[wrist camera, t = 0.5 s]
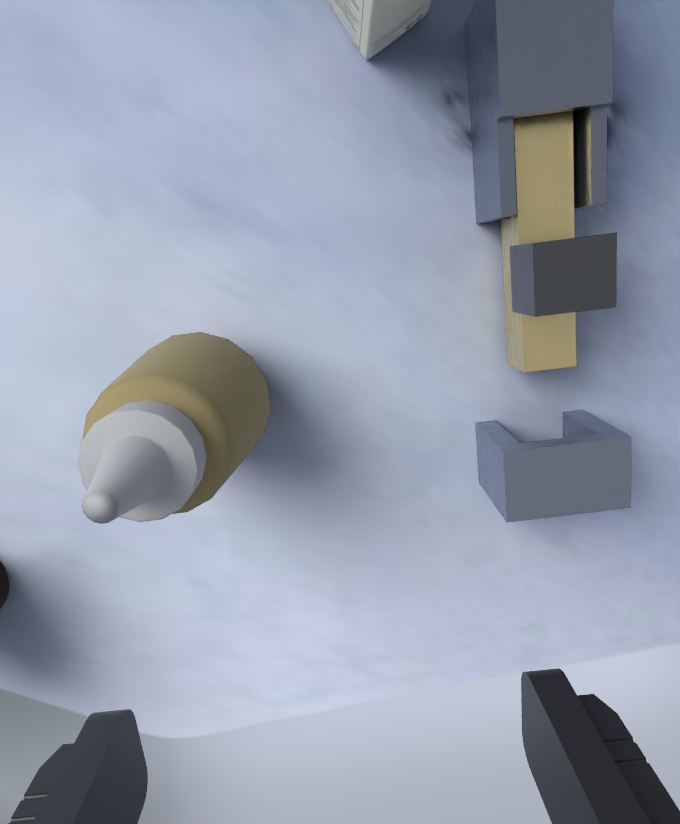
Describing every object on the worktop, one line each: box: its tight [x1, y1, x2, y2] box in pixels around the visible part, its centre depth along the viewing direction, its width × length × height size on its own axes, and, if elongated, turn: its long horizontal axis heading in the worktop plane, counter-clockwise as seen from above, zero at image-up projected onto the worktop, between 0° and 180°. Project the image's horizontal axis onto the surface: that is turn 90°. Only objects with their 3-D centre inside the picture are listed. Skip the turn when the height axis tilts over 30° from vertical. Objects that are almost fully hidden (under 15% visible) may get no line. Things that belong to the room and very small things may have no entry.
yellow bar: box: [501, 111, 617, 372], centre depth 29 cm, size 18×4×6 cm, turn 7°
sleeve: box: [466, 0, 613, 224], centre depth 29 cm, size 10×5×6 cm, turn 7°
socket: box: [476, 410, 631, 522], centre depth 34 cm, size 4×7×6 cm, turn 97°
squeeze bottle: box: [78, 332, 271, 524], centre depth 27 cm, size 8×8×18 cm
